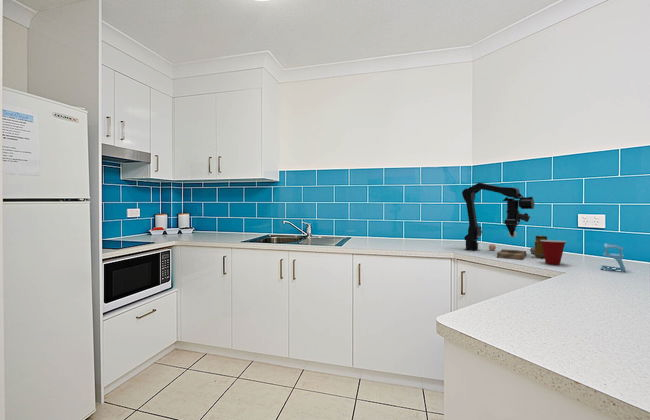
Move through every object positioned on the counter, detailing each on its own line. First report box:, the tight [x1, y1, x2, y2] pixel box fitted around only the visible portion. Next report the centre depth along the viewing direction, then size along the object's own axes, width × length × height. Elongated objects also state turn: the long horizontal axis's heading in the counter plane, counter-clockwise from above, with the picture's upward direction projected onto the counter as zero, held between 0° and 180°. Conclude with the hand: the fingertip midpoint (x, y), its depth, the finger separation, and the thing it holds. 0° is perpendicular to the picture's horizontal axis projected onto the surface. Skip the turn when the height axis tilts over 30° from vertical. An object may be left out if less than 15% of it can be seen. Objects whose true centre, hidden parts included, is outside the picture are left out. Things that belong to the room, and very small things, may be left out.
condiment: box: [532, 235, 548, 260], centre depth 168 cm, size 7×8×12 cm
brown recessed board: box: [496, 248, 527, 261], centre depth 173 cm, size 12×16×2 cm
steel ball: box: [508, 230, 517, 238], centre depth 178 cm, size 4×4×4 cm
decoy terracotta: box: [488, 243, 497, 251], centre depth 193 cm, size 4×4×4 cm
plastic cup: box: [540, 239, 567, 266], centre depth 153 cm, size 11×11×12 cm
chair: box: [600, 242, 627, 272], centre depth 138 cm, size 8×8×12 cm
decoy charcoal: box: [529, 246, 535, 255], centre depth 179 cm, size 4×4×4 cm
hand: (512, 235), depth 179 cm, fingers closed on steel ball, 4 cm apart
